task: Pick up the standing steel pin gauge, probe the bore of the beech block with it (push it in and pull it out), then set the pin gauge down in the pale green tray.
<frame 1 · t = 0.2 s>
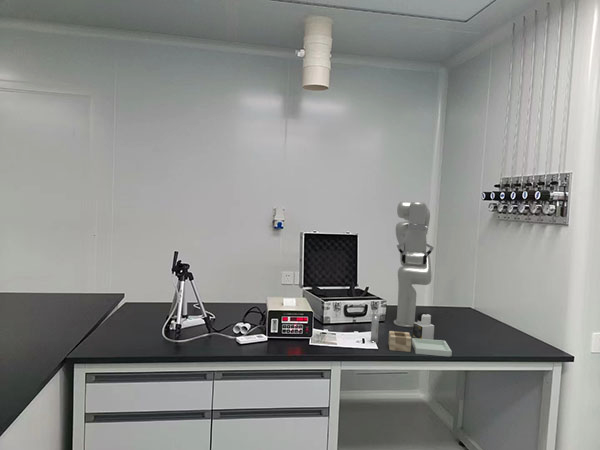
hand: (414, 263, 218), 36 cm above the worktop, tool pointing down, fingers open, 9 cm apart
tray: (430, 349, 203), on the worktop
medicine bottle: (423, 338, 220), on the worktop
pin gauge: (374, 341, 211), on the worktop
beech block: (399, 347, 204), on the worktop
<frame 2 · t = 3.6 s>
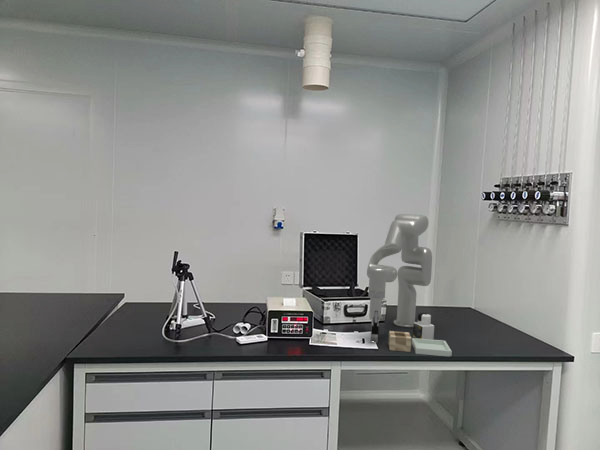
hand: (374, 332, 211), 4 cm above the worktop, tool pointing down, fingers closed on pin gauge, 3 cm apart
pin gauge: (374, 341, 211), on the worktop, touching gripper
everything else where it was.
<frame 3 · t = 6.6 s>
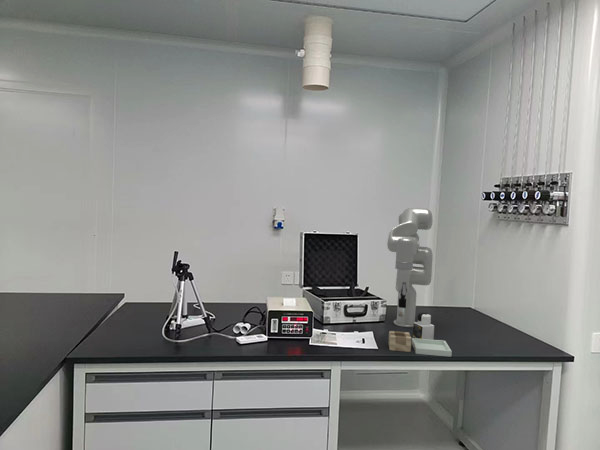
hand: (401, 306, 203), 19 cm above the worktop, tool pointing down, fingers closed on pin gauge, 3 cm apart
pin gauge: (401, 315, 203), point 15 cm above the worktop, touching gripper
everything else where it was.
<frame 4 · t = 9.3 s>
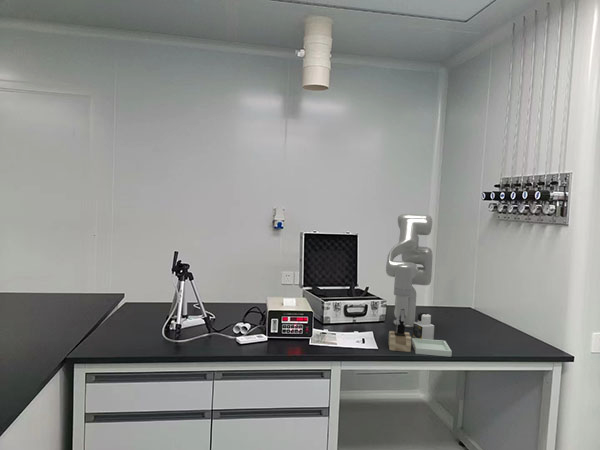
hand: (400, 331, 204), 7 cm above the worktop, tool pointing down, fingers closed on pin gauge, 3 cm apart
pin gauge: (399, 340, 204), point 3 cm above the worktop, touching gripper
everything else where it was.
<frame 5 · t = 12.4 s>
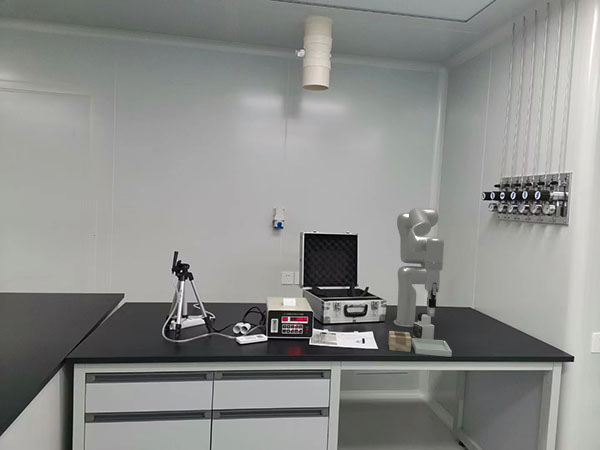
hand: (431, 306, 202), 20 cm above the worktop, tool pointing down, fingers closed on pin gauge, 3 cm apart
pin gauge: (430, 315, 202), point 15 cm above the worktop, touching gripper
everything else where it was.
when the fingers open (5 cm above the worktop, at t = 15.1 s): pin gauge stays where it is, resting on tray.
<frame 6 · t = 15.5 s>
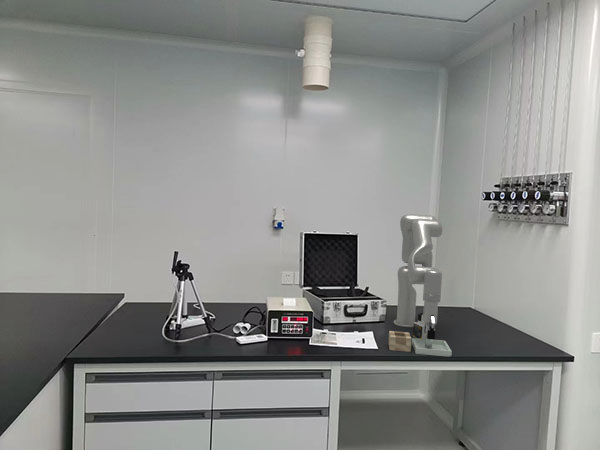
hand: (429, 336, 203), 6 cm above the worktop, tool pointing down, fingers open, 7 cm apart
pin gauge: (428, 348, 203), point 1 cm above the worktop, touching tray
everything else where it was.
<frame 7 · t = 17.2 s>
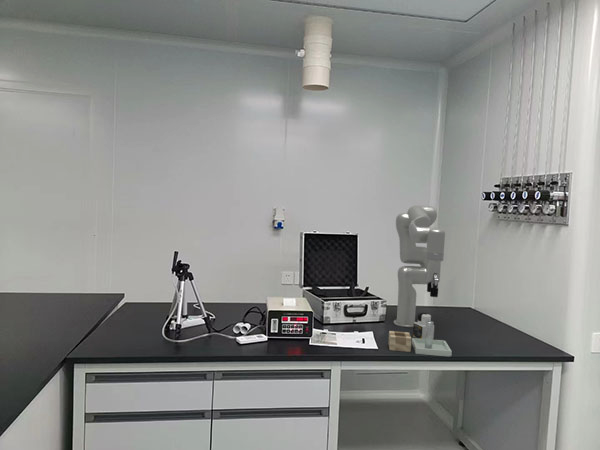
hand: (432, 294, 204), 25 cm above the worktop, tool pointing down, fingers open, 9 cm apart
nothing on the worktop moved.
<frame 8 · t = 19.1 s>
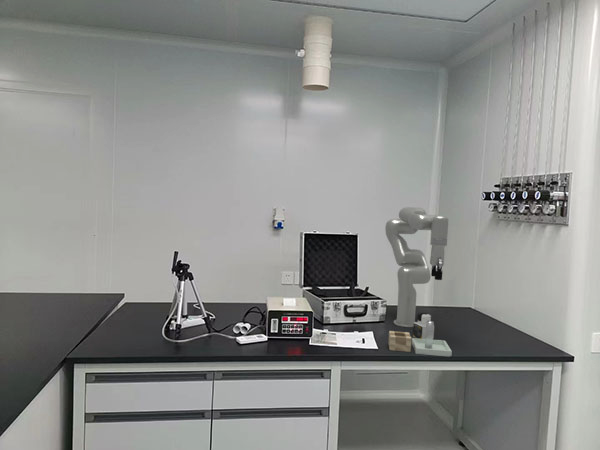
hand: (436, 278, 215), 30 cm above the worktop, tool pointing down, fingers open, 9 cm apart
nothing on the worktop moved.
at the end: pin gauge inside the target area on the tray (1.0 cm from its centre), point 0.6 cm above the tray's base; the gripper is holding nothing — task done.
